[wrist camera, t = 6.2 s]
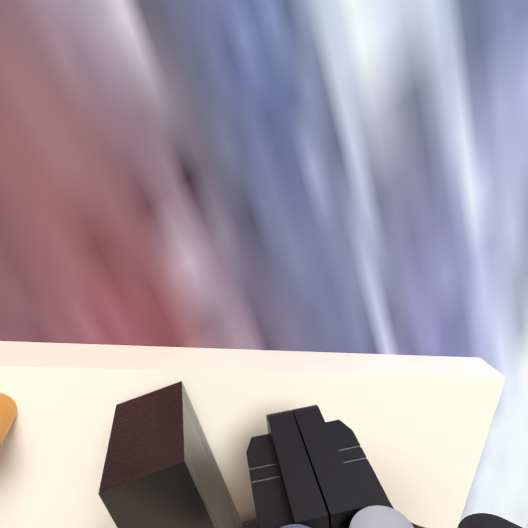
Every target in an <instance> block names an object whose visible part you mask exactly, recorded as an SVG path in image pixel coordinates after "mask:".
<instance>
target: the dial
mask: <svg viewBox="0 0 528 528" xmlns="http://www.w3.org/2000/svg"><path fill="white" fill-rule="evenodd" d="M98 494H99V496H100V498H101V500H102V501H103V503H104V505H105V507H106V508H107V510H108V512H109V514H110V516H111V517H112V519H113V521H114V523H115V524H116V526H117V528H258V523H257V518H255V519H251V520H247V521H243V522H242V521H241V519H240V517H239V514H238V512H237V510H236V507H235V505H234V503H233V500H232V498H231V496H230V493H229V491H228V488H227V486H226V484H225V481H224V479H223V477H222V474H221V472H220V470H219V467H218V465H217V463H216V460H215V458H214V456H213V453H212V451H211V448H210V446H209V444H208V441H207V439H206V437H205V434H204V432H203V430H202V427H201V425H200V423H199V420H198V418H197V415H196V413H195V411H194V408H193V406H192V404H191V401H190V399H189V397H188V394H187V392H186V390H185V387H184V385H183V382H182V381H180V382H178V383H175V384H172V385H169V386H167V387H164V388H161V389H158V390H156V391H153V392H150V393H147V394H145V395H142V396H139V397H136V398H134V399H131V400H128V401H125V402H123V403H120V404H117V405H116V409H115V414H114V419H113V424H112V429H111V434H110V439H109V444H108V449H107V454H106V459H105V464H104V468H103V473H102V478H101V483H100V488H99V493H98Z"/></svg>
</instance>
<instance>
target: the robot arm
mask: <svg viewBox="0 0 528 528" xmlns="http://www.w3.org/2000/svg"><path fill="white" fill-rule="evenodd" d="M266 421H267V428H268V434H265V435H260V436H255V437H251V440H250V443H249V446H248V449H247V452H246V454H247V461H248V467H249V474H250V480H251V487H252V494H253V500H254V506H255V511H256V517H257V523H258V528H425V527H422V526H418V525H416V524H413V523H411V522H410V521H409V520H408V519H407V518H406V517H405V516H404V515H403V514H402V513H400V512H399V511H397V510H395V509H394V508H393V506H392V505H391V503H390V501H389V499H388V497H387V495H386V493H385V491H384V489H383V488H382V486H381V484H380V482H379V480H378V478H377V476H376V474H375V472H374V470H373V468H372V466H371V465H370V463H369V461H368V459H367V458H366V455H365V453H364V451H363V449H362V447H360V443H359V442H358V440H357V438H356V436H355V434H354V432H353V430H352V429H350V428H349V427H348V426H347V425H345V424H344V423H343V422H342V421H340V420H334V421H329V422H325V420H324V418H323V416H322V414H321V411H320V409H319V407H318V405H312V406H307V407H302V408H297V409H292V411H291V410H288V411H283V412H277V413H272V414H267V415H266ZM458 528H522V527H520V526H518V525H516V524H514V523H512V522H509V521H507V520H505V519H503V518H501V517H498V516H495V515H492V514H486V513H478V514H472V515H469V516H467V517H465V518H464V519H463V520H462V521H461V522H460V524H459V525H458Z"/></svg>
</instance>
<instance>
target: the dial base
mask: <svg viewBox="0 0 528 528" xmlns="http://www.w3.org/2000/svg"><path fill="white" fill-rule="evenodd" d="M505 380H506V377H505V376H503V375H502V374H501V373H499V372H498V371H497V370H495V369H494V368H493V367H492V366H490V365H489V364H488V363H486V362H485V361H484V360H482V359H481V358H476V357H447V356H418V355H389V354H360V353H331V352H302V351H273V350H244V349H215V348H186V347H157V346H128V345H99V344H70V343H41V342H12V341H0V528H117V526H116V524H115V523H114V521H113V519H112V517H111V516H110V514H109V512H108V510H107V508H106V507H105V505H104V503H103V501H102V500H101V498H100V496H99V494H98V493H99V488H100V483H101V478H102V473H103V468H104V464H105V459H106V454H107V449H108V444H109V439H110V434H111V429H112V424H113V419H114V414H115V409H116V405H117V404H120V403H123V402H125V401H128V400H131V399H134V398H136V397H139V396H142V395H145V394H147V393H150V392H153V391H156V390H158V389H161V388H164V387H167V386H169V385H172V384H175V383H178V382H180V381H182V382H183V385H184V387H185V390H186V392H187V394H188V397H189V399H190V401H191V404H192V406H193V408H194V411H195V413H196V415H197V418H198V420H199V423H200V425H201V427H202V430H203V432H204V434H205V437H206V439H207V441H208V444H209V446H210V448H211V451H212V453H213V456H214V458H215V460H216V463H217V465H218V467H219V470H220V472H221V474H222V477H223V479H224V481H225V484H226V486H227V488H228V491H229V493H230V496H231V498H232V500H233V503H234V505H235V507H236V510H237V512H238V514H239V517H240V519H241V521H242V522H243V521H247V520H251V519H255V518H257V517H256V511H255V506H254V500H253V494H252V487H251V480H250V474H249V467H248V461H247V454H246V452H247V449H248V446H249V443H250V440H251V437H255V436H260V435H265V434H268V428H267V421H266V415H267V414H272V413H277V412H283V411H288V410H291V411H292V409H297V408H302V407H307V406H312V405H318V407H319V409H320V411H321V414H322V416H323V418H324V420H325V422H329V421H334V420H340V421H342V422H343V423H344V424H345V425H347V426H348V427H349V428H350V429H352V430H353V432H354V434H355V436H356V438H357V440H358V442H359V443H360V447H362V449H363V451H364V453H365V455H366V458H367V459H368V461H369V463H370V465H371V466H372V468H373V470H374V472H375V474H376V476H377V478H378V480H379V482H380V484H381V486H382V488H383V489H384V491H385V493H386V495H387V497H388V499H389V501H390V503H391V505H392V506H393V508H394V509H395V510H397V511H399V512H400V513H402V514H403V515H404V516H405V517H406V518H407V519H408V520H409V521H410V522H411V523H413V524H416V525H418V526H422V527H425V528H457V527H458V524H459V521H460V518H461V515H462V512H463V509H464V505H465V502H466V499H467V496H468V493H469V490H470V487H471V484H472V481H473V478H474V475H475V472H476V469H477V466H478V463H479V460H480V457H481V454H482V451H483V447H484V444H485V441H486V438H487V435H488V432H489V429H490V426H491V423H492V420H493V417H494V414H495V411H496V408H497V405H498V402H499V399H500V396H501V393H502V389H503V386H504V383H505Z"/></svg>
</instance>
